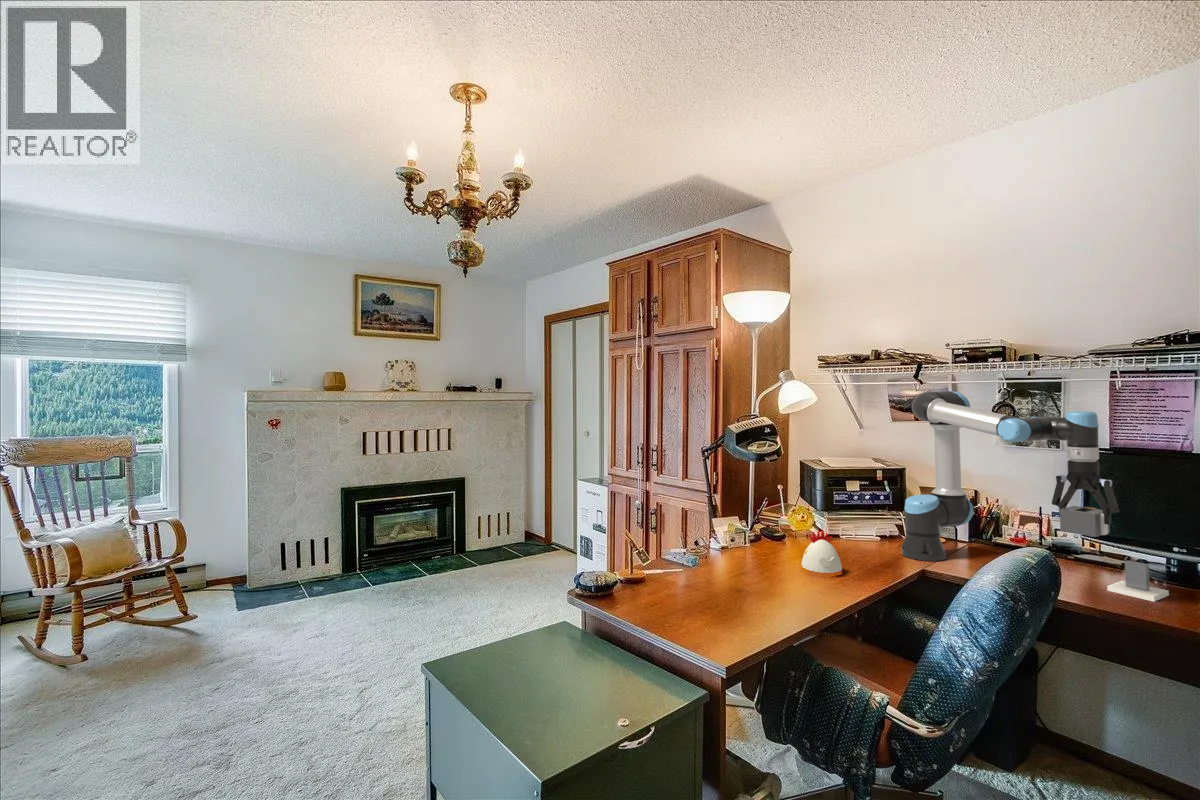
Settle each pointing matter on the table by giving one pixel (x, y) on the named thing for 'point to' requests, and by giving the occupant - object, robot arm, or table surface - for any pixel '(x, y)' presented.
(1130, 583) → the shaft stand
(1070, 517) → the gray slotted block
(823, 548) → the kitchen timer
